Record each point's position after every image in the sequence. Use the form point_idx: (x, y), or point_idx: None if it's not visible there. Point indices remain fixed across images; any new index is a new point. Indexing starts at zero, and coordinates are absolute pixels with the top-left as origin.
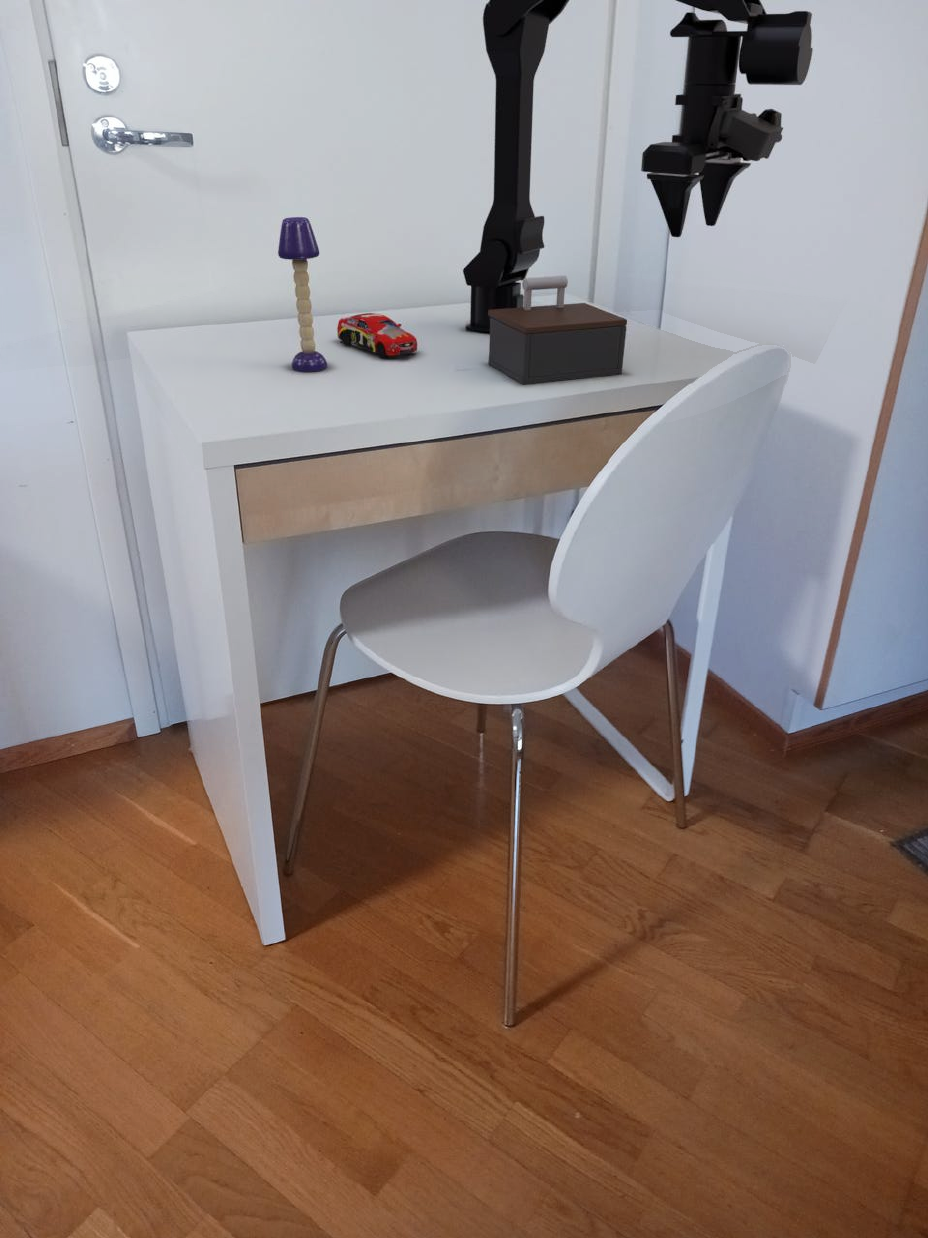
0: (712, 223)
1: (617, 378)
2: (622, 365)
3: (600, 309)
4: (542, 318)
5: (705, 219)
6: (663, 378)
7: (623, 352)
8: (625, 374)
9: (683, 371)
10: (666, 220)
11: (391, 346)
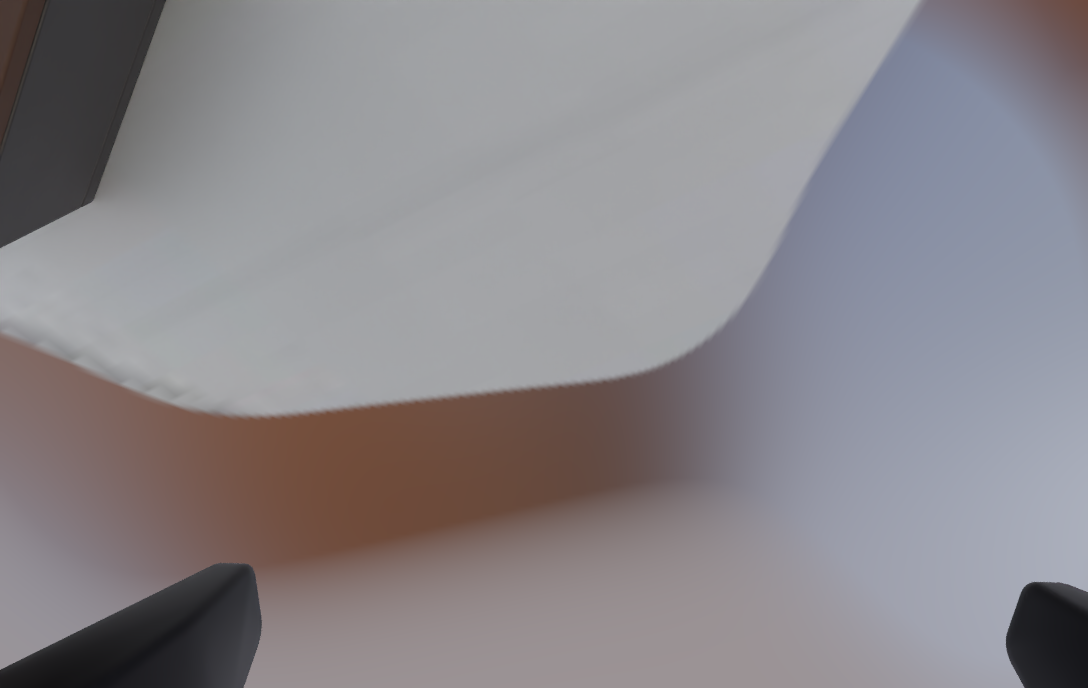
0: (1018, 650)
1: None
2: (74, 210)
3: (11, 3)
4: None
5: (1060, 608)
6: (187, 354)
7: (41, 225)
8: (107, 214)
9: (339, 365)
10: (80, 634)
11: None
